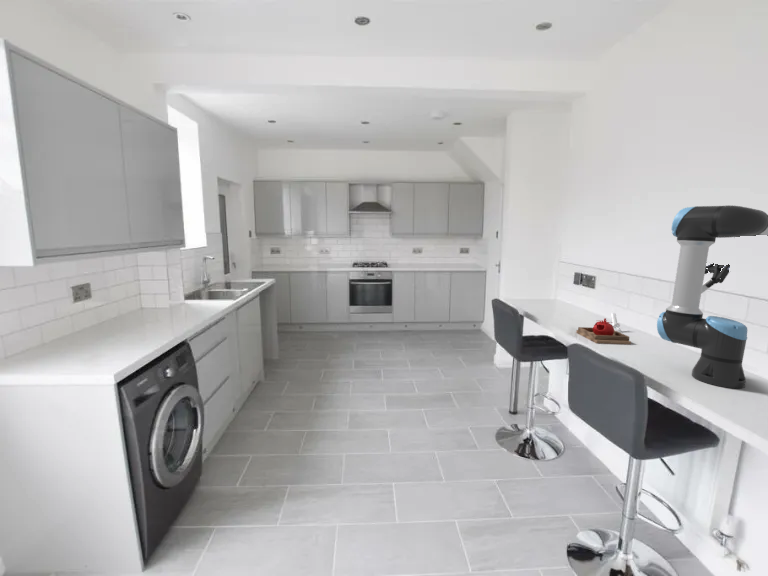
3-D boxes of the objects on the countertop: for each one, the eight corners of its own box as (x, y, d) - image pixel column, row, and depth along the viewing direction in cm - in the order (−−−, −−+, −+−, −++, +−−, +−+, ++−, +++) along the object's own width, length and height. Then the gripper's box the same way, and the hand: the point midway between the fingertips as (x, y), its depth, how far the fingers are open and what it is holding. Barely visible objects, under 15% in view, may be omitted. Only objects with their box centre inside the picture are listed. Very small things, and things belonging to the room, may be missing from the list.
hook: (610, 318, 222) (620, 314, 216) (615, 337, 217) (625, 333, 211) (600, 316, 221) (610, 311, 215) (604, 335, 215) (614, 331, 209)
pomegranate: (606, 333, 202) (608, 316, 201) (617, 338, 192) (620, 320, 191) (587, 332, 202) (590, 315, 201) (598, 337, 192) (600, 319, 191)
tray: (630, 344, 187) (631, 337, 187) (596, 343, 187) (597, 336, 187) (607, 333, 207) (608, 327, 206) (576, 332, 207) (576, 326, 207)
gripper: (758, 266, 158) (714, 299, 162) (714, 261, 182) (676, 291, 186) (747, 253, 158) (702, 286, 162) (704, 250, 182) (666, 279, 186)
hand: (688, 289), depth 174 cm, fingers open, 13 cm apart
